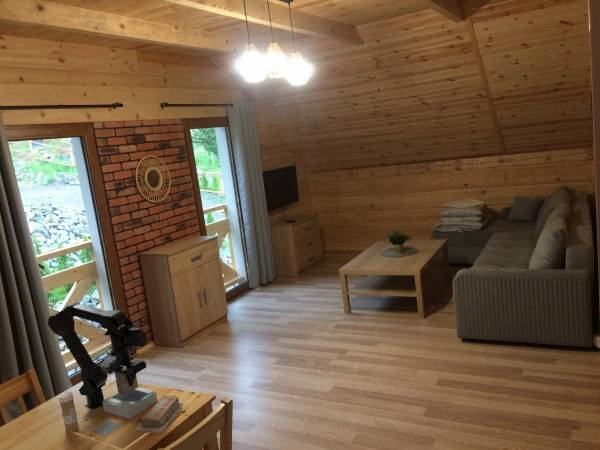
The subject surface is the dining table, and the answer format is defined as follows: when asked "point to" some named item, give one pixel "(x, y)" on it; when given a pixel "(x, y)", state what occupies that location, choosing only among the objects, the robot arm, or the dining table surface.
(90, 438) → the dining table surface
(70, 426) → the sprinkles bottle
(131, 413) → the grey open tray
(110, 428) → the coaster
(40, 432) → the dining table surface
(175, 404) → the packaged product
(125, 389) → the block
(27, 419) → the dining table surface
